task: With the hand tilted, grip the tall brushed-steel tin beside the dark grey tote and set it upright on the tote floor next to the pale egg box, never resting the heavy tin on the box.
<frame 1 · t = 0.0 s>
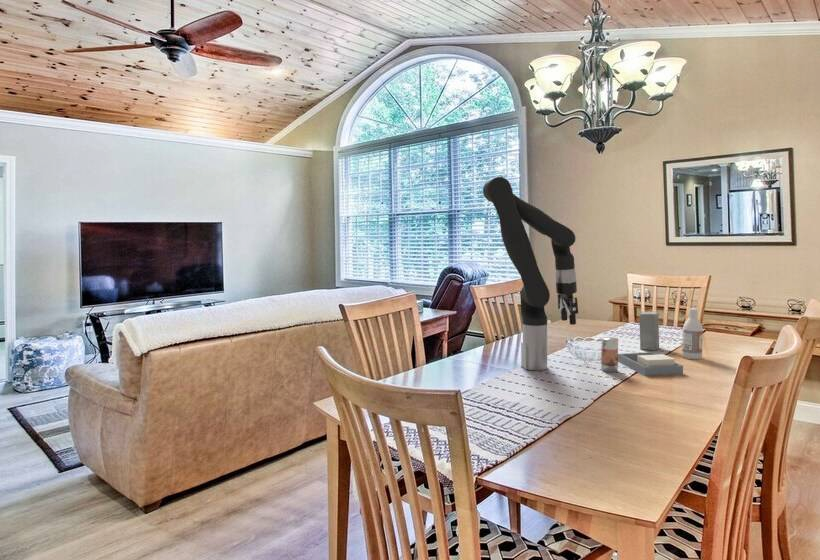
hand: (568, 322, 195), 17 cm above the table, tool pointing down, fingers open, 8 cm apart
egg box: (655, 370, 184), point 1 cm above the table, touching tote
skincare box: (648, 348, 221), on the table
tote: (648, 369, 189), on the table
bath foam: (692, 358, 204), on the table
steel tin: (609, 373, 185), on the table
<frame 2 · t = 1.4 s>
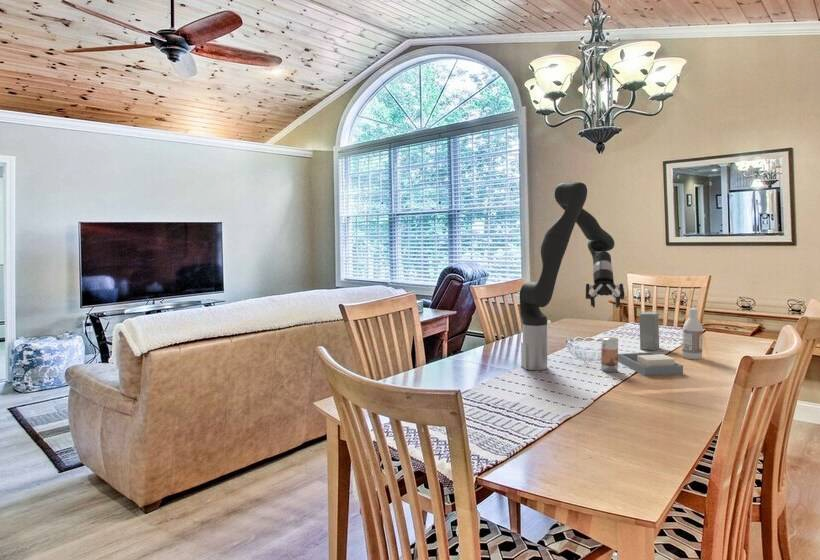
hand: (605, 306, 196), 23 cm above the table, tool tilted 45°, fingers open, 8 cm apart
nothing on the table moved.
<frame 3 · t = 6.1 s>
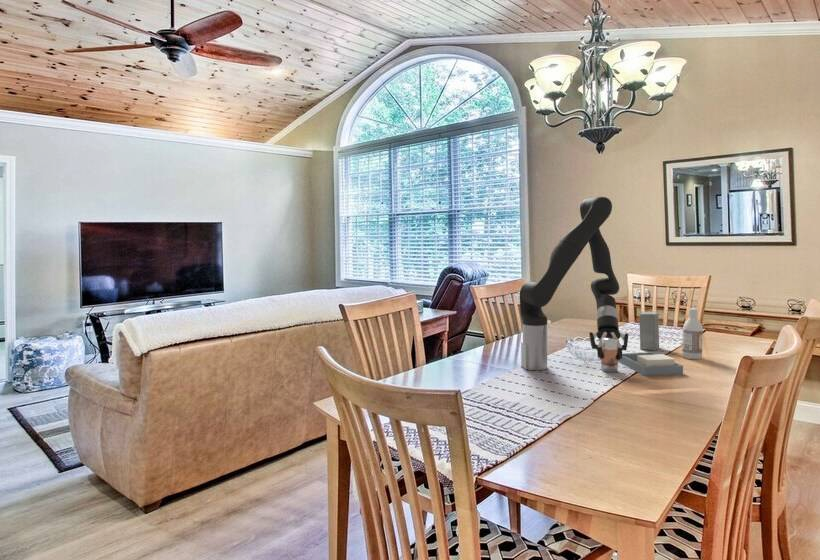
hand: (610, 358, 183), 6 cm above the table, tool tilted 45°, fingers closed on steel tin, 5 cm apart
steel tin: (609, 373, 185), on the table, touching gripper
everything else where it was.
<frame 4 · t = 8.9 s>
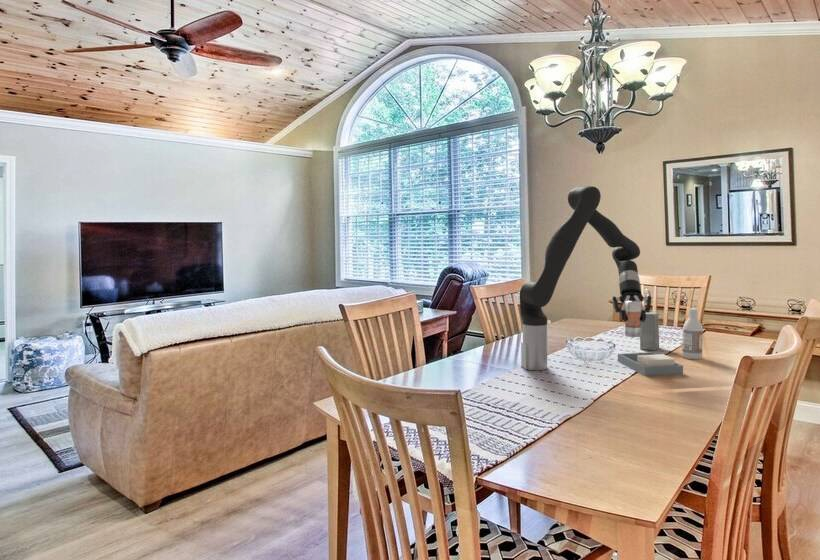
hand: (634, 320, 188), 19 cm above the table, tool tilted 45°, fingers closed on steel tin, 5 cm apart
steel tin: (633, 335, 190), point 13 cm above the table, touching gripper
everything else where it was.
when the fingers open (8 cm above the table, at t = 12.1 s): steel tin drops 1 cm, resting on tote.
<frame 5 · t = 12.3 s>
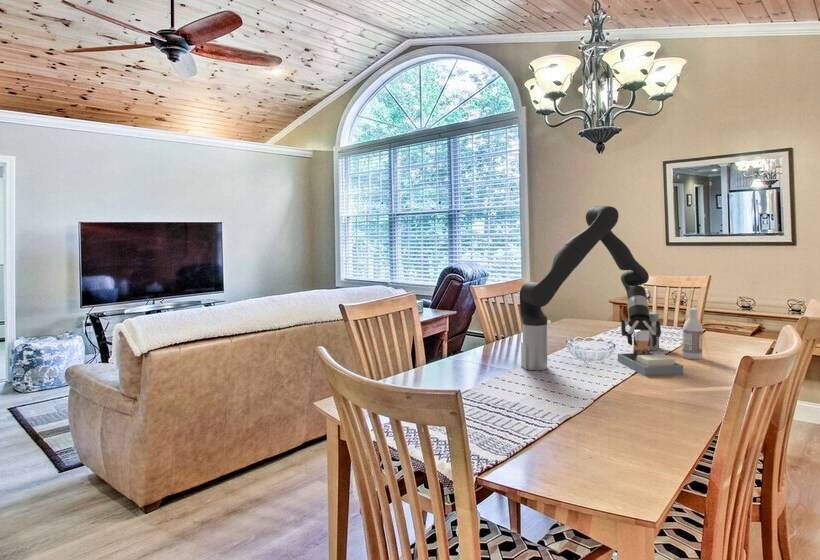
hand: (642, 344, 191), 9 cm above the table, tool tilted 45°, fingers open, 7 cm apart
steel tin: (641, 363, 194), point 1 cm above the table, touching tote
everything else where it was.
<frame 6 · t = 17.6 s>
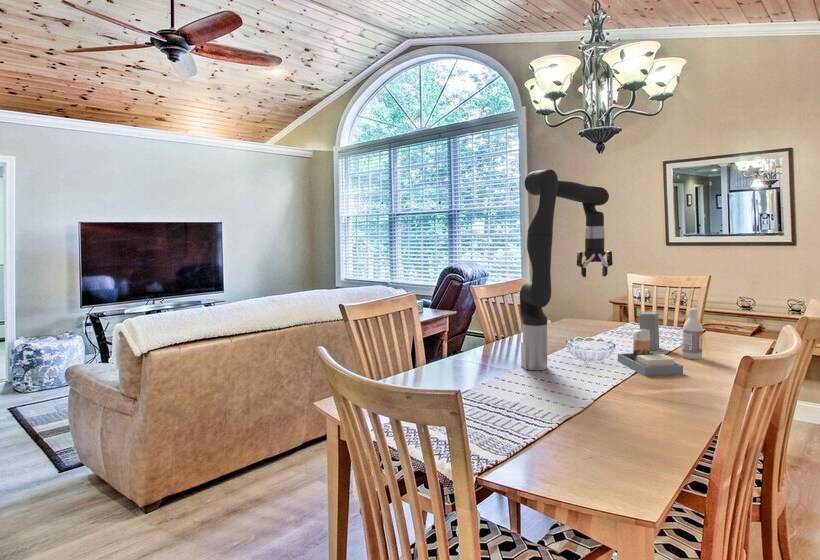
hand: (594, 276, 209), 33 cm above the table, tool pointing down, fingers open, 8 cm apart
nothing on the table moved.
at the end: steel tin inside the target area on the tote (0.2 cm from its centre), point 1.0 cm above the tote's base; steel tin tilted 0°; egg box moved 0.0 cm from its start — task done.
